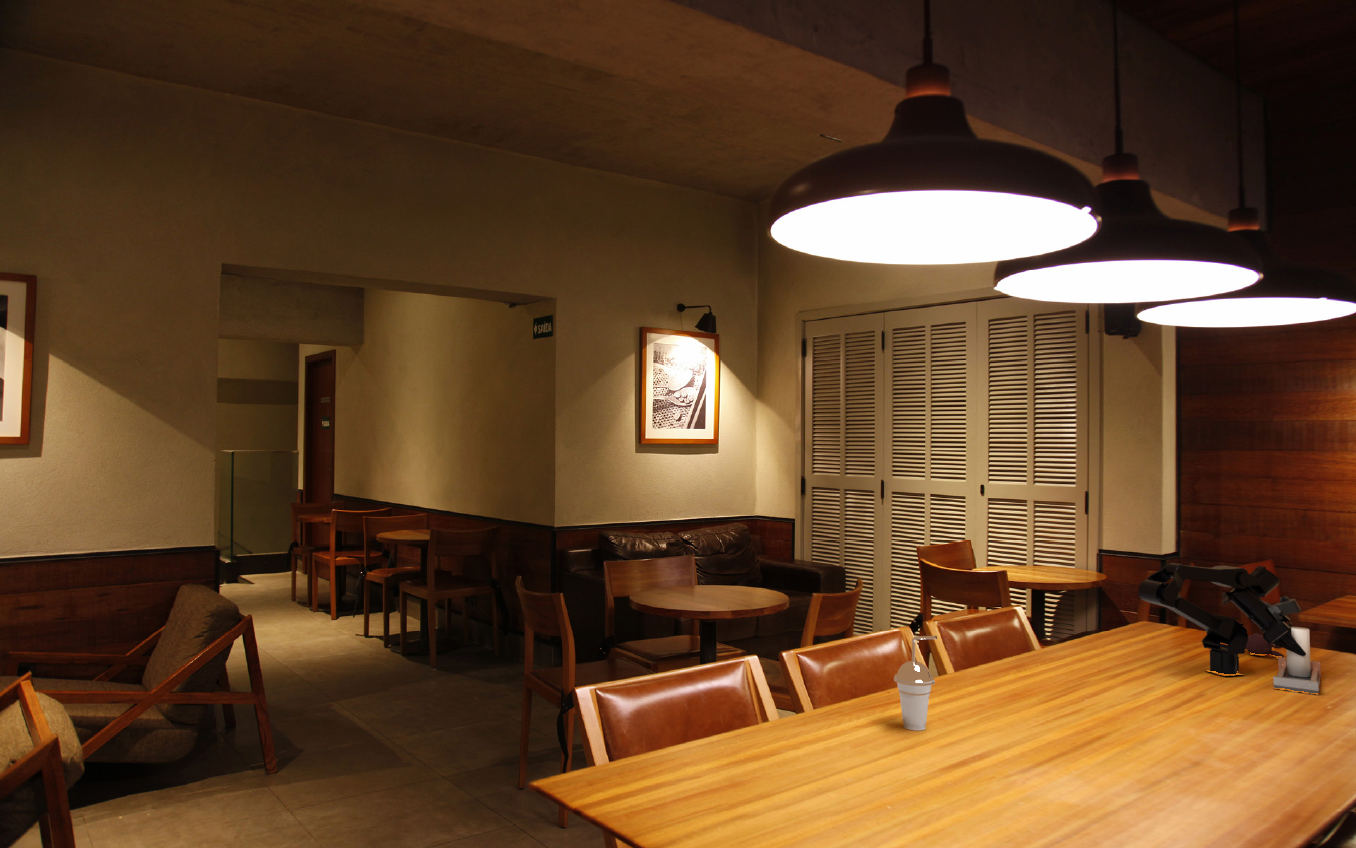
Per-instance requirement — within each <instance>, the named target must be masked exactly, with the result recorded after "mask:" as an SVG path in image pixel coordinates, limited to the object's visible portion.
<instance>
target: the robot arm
mask: <svg viewBox="0 0 1356 848" xmlns="http://www.w3.org/2000/svg"><path fill="white" fill-rule="evenodd" d="M1171 579H1172V580H1171ZM1279 579H1280V578H1279V577H1278V576H1277V575H1276V574H1274V573H1273V572H1272V571H1270V570H1268V569H1267V567H1266V566H1264V565H1263V566H1262V565H1257V566H1256V567H1255V569H1254V570H1253V571H1252V572H1250V573H1249V572H1248V569H1246V568H1244V567H1236V566H1230V565H1214V566H1213V567H1204V566H1195V565H1188V564H1187V565H1185V564H1182V563H1174V562H1169V563H1166V564H1165V565H1164V566H1163V567H1162V568H1161V569H1159V570H1158V571H1155V572H1154V573H1152V574H1150V575H1148V577H1146V578H1145V579H1144V580H1143V581H1141V582H1140V584H1139V585H1138V597H1139V598H1140V599H1141V600H1142V601H1144V602H1147V603H1150V604H1154V605H1157V606H1161V607H1164V608H1166V609H1169V610H1170V611H1172V612H1174V613H1176V614H1177V615H1179V616H1181V617H1183V618H1185V619H1186V620H1188V621H1190V622H1191V623H1193V624H1196V626H1198V627H1200V628H1201V629H1204V631H1205V632H1206V635H1205V636H1204V638H1202V641H1201V642H1202V646H1203V648H1204V649H1209V669H1210V671H1216V672H1218V673H1224V674H1236V673H1237V671H1239V672H1240V657H1239V655H1241V654H1242V655H1243V654H1245V652H1246V650H1247V649H1246V645H1247V641H1248V636H1249V634H1248V629H1247V628H1246V627H1245V626H1244V623H1242V622H1239V621H1237V620H1236V619H1235V618H1234V617H1232V616H1226V615H1221V614H1217V613H1213V614H1212V613H1209V612H1208V611H1206V610H1204V609H1203V608H1201V607H1199V606H1197V605H1196V604H1194V603H1193V602H1190V601H1189V600H1187V599H1186V598H1184V597H1182V596H1181V593H1180V592H1181V591H1182V590H1183V585H1184V582H1185V581H1186V580H1189V581H1190V580H1191V581H1200V582H1209V583H1212V584H1215V585H1216V586H1220V587H1224V588H1230V589H1231V591H1225V592H1223V593H1222V594H1221V596H1222V604H1223V605H1226V604H1228V603H1229V602H1231V603H1233V604H1234V606H1236V607H1237V608H1238V609H1239V610H1240V611H1241V612H1242V613H1243V614H1244V615H1246V617H1247V619H1248V620H1249V621H1252V622H1253V623H1254V624H1255V625H1256V626H1257V627H1259V628H1260V631H1261V632H1262V633H1263V634H1262V635H1263V638H1264V639H1265V640H1266V641H1267V642H1268V643H1269V644H1270V643H1273V644H1275V645H1278V646H1280V647H1282V648H1283V649H1285V650H1286V651H1287V650H1289V651H1292V652H1294V653H1296V654H1298V655H1300V656H1305V655H1306V653H1305V651H1304V650H1303V649H1302V648H1301V646H1300V645H1299V644H1298V643H1297V641H1296V640H1295V639H1294V638H1293V637H1292V628H1291V627H1293V624H1292V622H1290V621H1291V618H1290V617H1289V615H1291V614H1298V613H1300V612H1302V608H1301V607H1300V605H1299V604H1298V602H1297V600H1296V598H1289V597H1288V596H1286V595H1285V596H1282V597H1280V598H1279V602H1276V603H1274V604H1271V603H1269V602H1268V601H1264V600H1263V599H1262V598H1265V597H1266V596H1267V595H1268V594H1270V593H1271V591H1273V590H1274V589H1275V588H1276V587H1278V586H1279V585H1280V580H1279ZM1169 581H1170V582H1169ZM1282 648H1281V649H1282Z"/></svg>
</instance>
